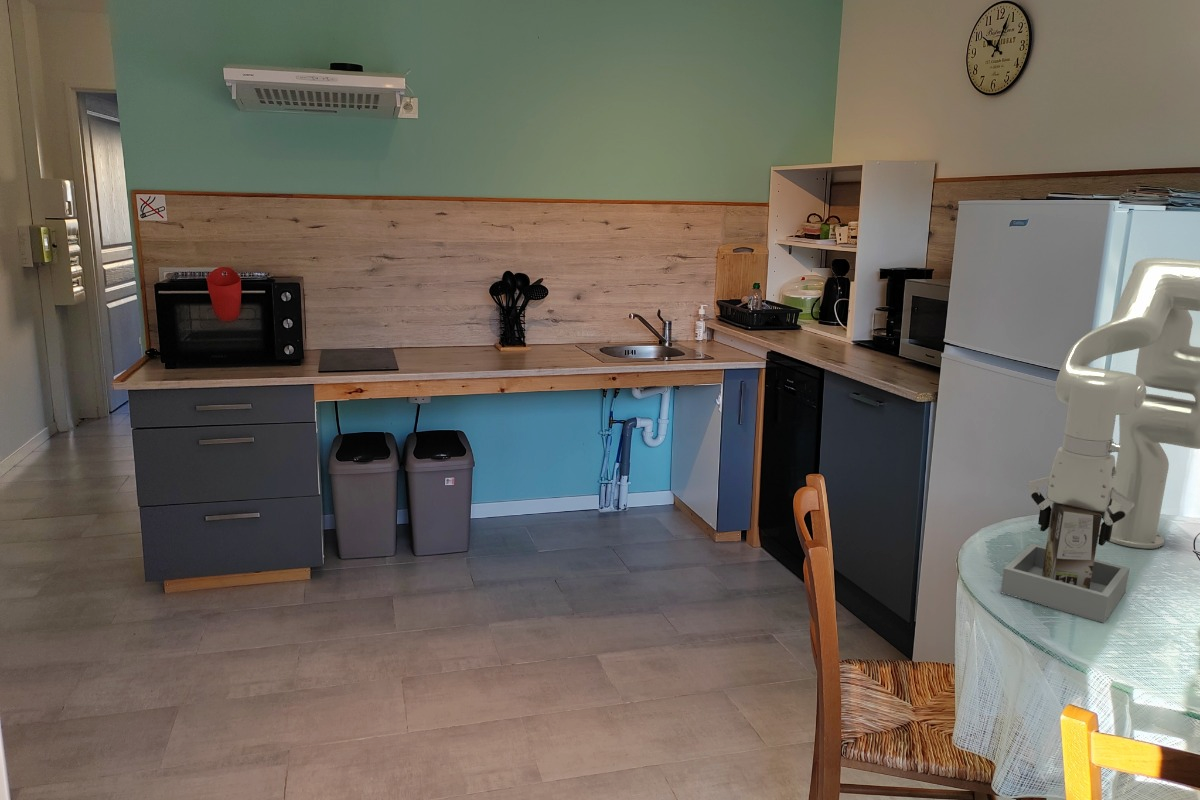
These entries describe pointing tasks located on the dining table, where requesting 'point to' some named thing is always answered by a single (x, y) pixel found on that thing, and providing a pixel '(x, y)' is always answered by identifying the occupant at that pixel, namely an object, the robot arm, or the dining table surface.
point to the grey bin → (1065, 586)
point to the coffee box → (1071, 545)
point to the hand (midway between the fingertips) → (1072, 536)
